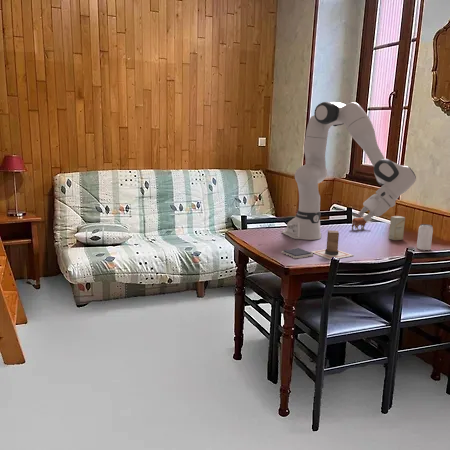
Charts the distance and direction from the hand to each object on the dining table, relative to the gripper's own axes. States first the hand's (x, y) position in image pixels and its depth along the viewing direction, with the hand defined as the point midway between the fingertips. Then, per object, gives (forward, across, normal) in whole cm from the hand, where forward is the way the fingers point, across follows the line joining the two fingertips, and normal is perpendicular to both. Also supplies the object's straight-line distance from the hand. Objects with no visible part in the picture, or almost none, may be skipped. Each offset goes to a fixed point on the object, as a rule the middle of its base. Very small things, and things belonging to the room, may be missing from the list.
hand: (361, 217), depth 216 cm
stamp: (+21, 0, +3) cm, 22 cm away
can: (-11, -15, +38) cm, 42 cm away
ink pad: (+33, +3, -8) cm, 34 cm away
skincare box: (-5, -34, +33) cm, 47 cm away
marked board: (+22, 0, +3) cm, 22 cm away
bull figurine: (+5, -54, +23) cm, 59 cm away
